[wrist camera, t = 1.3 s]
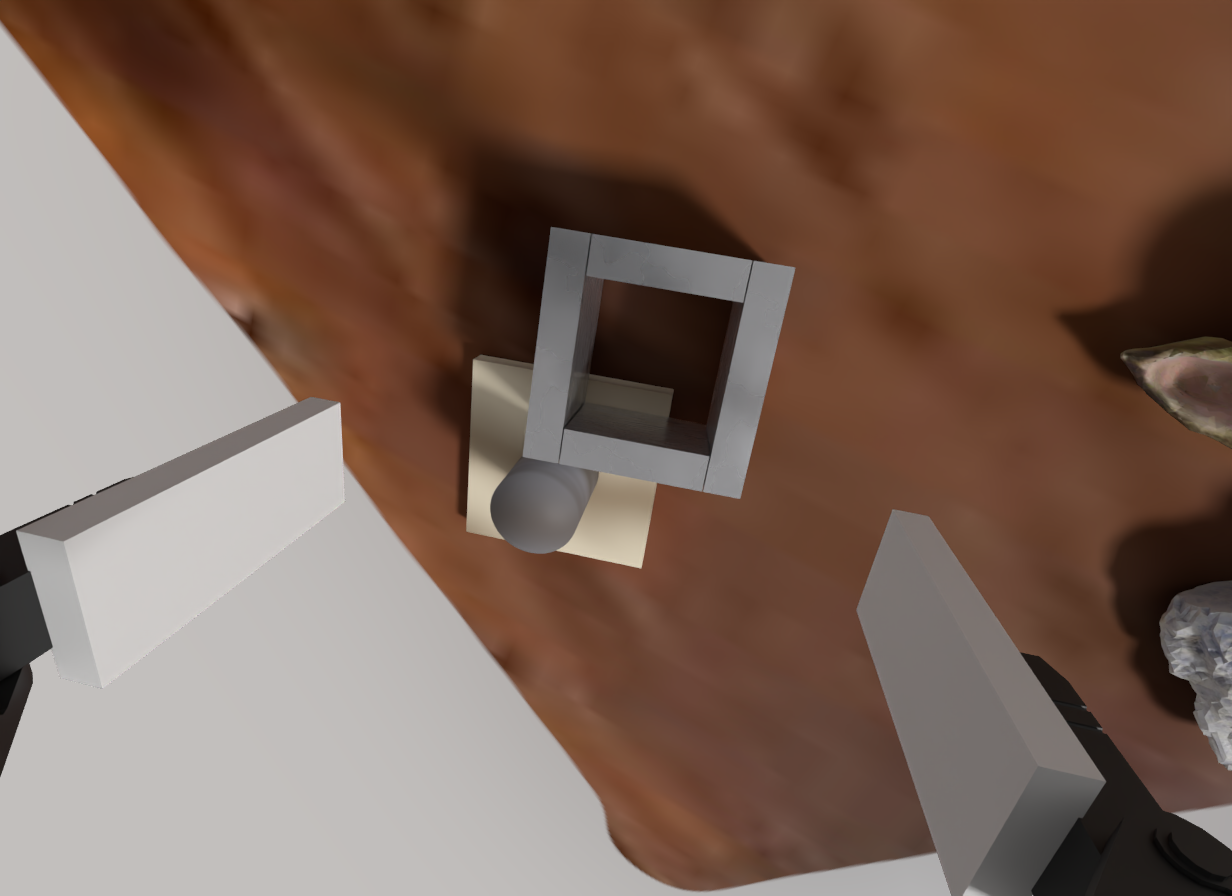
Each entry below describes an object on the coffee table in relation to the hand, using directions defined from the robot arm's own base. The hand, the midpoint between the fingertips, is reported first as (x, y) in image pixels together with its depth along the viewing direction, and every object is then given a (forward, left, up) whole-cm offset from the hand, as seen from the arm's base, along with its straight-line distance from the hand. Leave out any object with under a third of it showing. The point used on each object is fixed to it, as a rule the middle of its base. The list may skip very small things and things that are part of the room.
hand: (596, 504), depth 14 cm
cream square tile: (+7, -4, -16) cm, 18 cm away
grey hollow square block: (0, 0, -15) cm, 15 cm away
